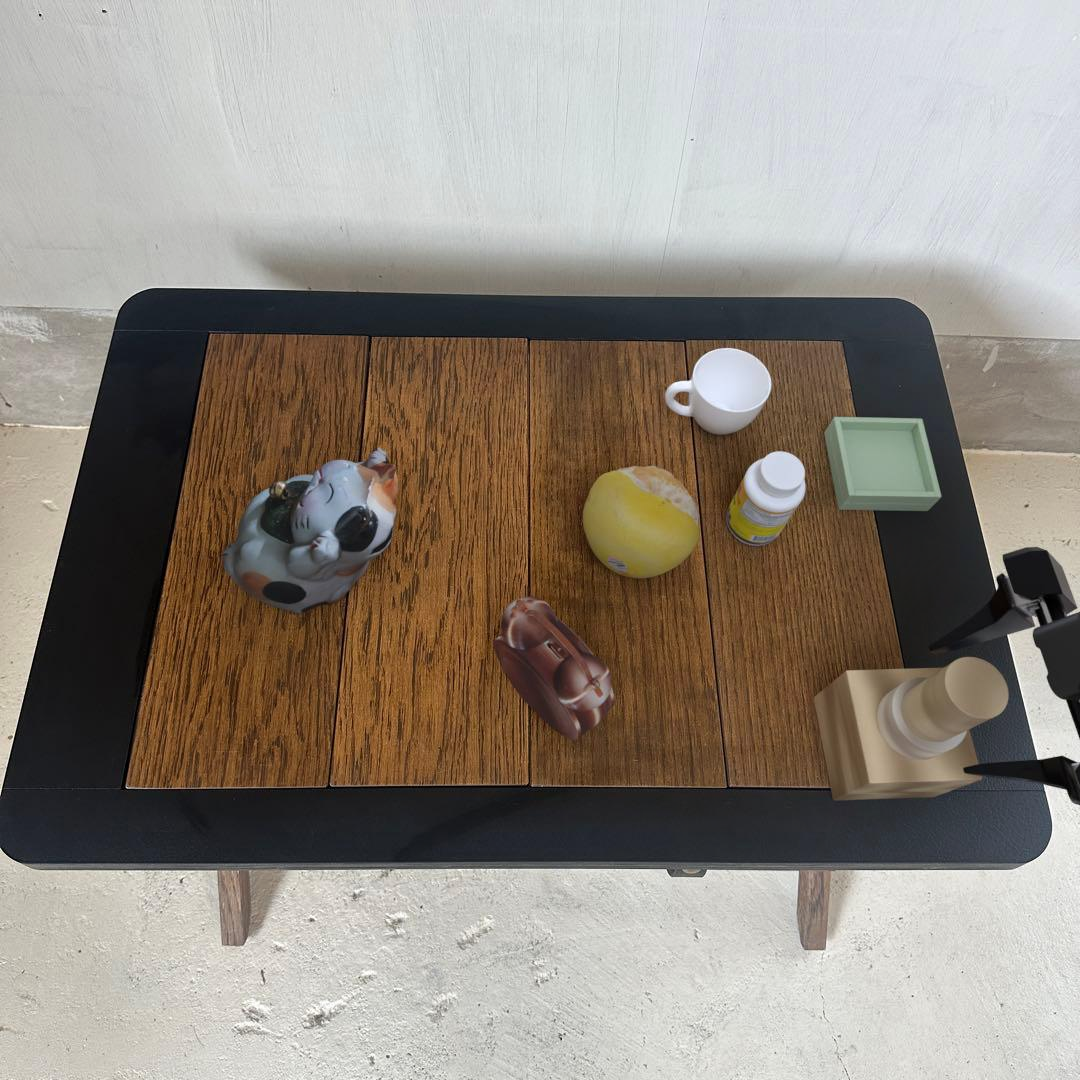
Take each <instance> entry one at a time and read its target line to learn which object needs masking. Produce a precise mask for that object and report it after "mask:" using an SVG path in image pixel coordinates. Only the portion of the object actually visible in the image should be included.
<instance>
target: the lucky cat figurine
mask: <svg viewBox="0 0 1080 1080" xmlns="http://www.w3.org/2000/svg"><path fill="white" fill-rule="evenodd" d="M398 478H399V477H398V474H397V465H396V464H394V463H393V464H392V463H391V462H390V459H388V455H387V451H386V450H383V448H381V447H378V448H377V450H374V451H372V452H371V453H369V456H368V458H367V459H366V460H365V461H359V462H353V461H350V460H346V459H333V460H331V461H328V462H325V463H324V464H323V465H321V467H320V468H319V469H317V470H316V471H314V472H313V473H312V474H298V475H295V476H292V477H290V478H289V479H287V480H285V481H284V480H280V479H279V480H277V481H275V482H272V484H270V486H269V487H268V488H266V489H264V490H262V491H261V492H259V493H258V494H257V495H255V496H254V497H253V498H252V499H251V500H250V502H249V503H248V505H247V506H246V508H245V511H243V514H242V516H241V518H240V520H239V522H238V526H237V535H236V537H235V539H234V541H232V542H231V543H230V544H228V545H227V546H226V547H225V548H224V550H223V551H222V553H221V560H222V565H223V568H224V570H225V573H226V574H227V575H228V577H230V579H231V580H232V581H233V583H235V584H236V585H237V586H238V588H240V589H241V590H242V591H244V592H245V593H246V594H248V595H249V596H250V597H252V598H254V599H255V600H257V601H259V602H261V603H262V604H265V605H266V606H267V605H268V606H270V607H273V608H276V609H281V610H284V611H288V612H291V613H294V614H299V615H303V614H304V613H306V612H308V611H310V610H312V609H314V608H315V607H320V606H325V605H333V604H335V603H336V602H340V601H341V600H342V599H344V597H345V596H346V595H347V594H348V592H349V591H350V590H351V589H352V587H353V586H354V585H355V584H356V583H357V582H358V581H359V580H360V579H361V578H362V577H363V576H364V574H365V572H366V571H367V569H368V567H369V565H370V562H371V561H373V560H374V559H376V558H377V557H378V556H380V555H381V554H382V552H384V551H385V550H386V549H388V547H389V546H390V544H391V541H392V539H393V537H394V524H395V523H394V521H395V519H396V516H397V515H396V514H397V507H396V500H397V498H398V494H399V479H398Z"/></svg>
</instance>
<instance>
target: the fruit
mask: <svg viewBox="0 0 1080 1080" xmlns="http://www.w3.org/2000/svg"><path fill="white" fill-rule="evenodd" d="M699 520H700V512H699V509H698V505H697V504H696V501H695V499H694V498H693V497H692V496H691V494H689V492H688V489H687V488H686V487H685V485H684V484H683V483H682V482H680V481H679V479H677V478H675V476H674V475H673V474H672V472H670V471H668V470H666V469H664V468H660V467H658V466H657V465H647V466H638V465H632V466H628V467H619V468H618V469H616V470H611V471H609V472H605V473H603V474H601V475H599V477H598V478H597V479H596V480H595V481H594V483H593V484H592V487H591V488H590V490H589V492H588V494H587V497H586V500H585V502H584V507H583V510H582V525H583V530H584V534H585V537H586V539H587V543H588V545H589V547H590V549H591V550H592V552H593V554H594V556H595V557H596V558H597V559H598V560H599V562H601V564H603V565H604V566H605V567H606V568H608V570H610V571H611V572H613V573H615V574H618V575H621V576H623V577H627V578H631V579H650V578H655V577H658V576H661V575H664V574H665V573H667V572H670V571H671V570H673V569H674V568H676V567H678V566H679V565H680V564H682V563H683V562H684V561H686V559H687V558H688V557H689V556H690V555H691V553H692V552H693V551H694V550H695V548H696V546H697V544H698V542H699V539H700V533H701V531H700V526H699V522H700V521H699Z"/></svg>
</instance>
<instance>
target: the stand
mask: <svg viewBox="0 0 1080 1080" xmlns="http://www.w3.org/2000/svg"><path fill="white" fill-rule="evenodd" d="M943 668H944V667H922V668H921V667H918V668H887V669H885V668H883V669H881V668H880V669H852V670H851V669H849V670H845V671H844V672H842V674H840V675H839V676H837V678H835V679H834V680H833V681H832V682H830V683H829V684H828V685H827V686H826V687H825V688H823V689H821V690H820V691H819V692H818V693H817V694H816V695H815V696H814V697H813V701H814V707H815V712H816V713H815V714H816V719H817V723H818V729H819V733H820V740H821V744H822V745H821V746H822V749H823V755H824V761H825V765H826V771H827V775H828V776H827V777H828V782H829V786H830V791H831V797H832V801H834V802H835V801H836V802H837V801H857V800H858V801H859V800H860V801H861V800H863V801H864V800H886V799H887V800H889V799H915V798H936V797H938V796H941V795H943V794H946V793H949V792H952V791H955V790H957V789H960V788H962V787H965V786H968V785H971V784H973V783H976V782H978V781H982V780H983V776H978V775H970V774H966V773H964V771H963V768H964V767H968V766H973V765H977V764H980V763H979V760H978V757H977V752H976V749H975V745H974V741H973V738H972V734H971V729H969V730H967V732H966V735H965V737H964V739H963V740H962V742H961V743H960V744H959V745H957V746H956V747H955V748H953V749H951V750H949V751H947V752H945V753H942V754H940V755H938V756H936V757H934V758H931V759H927V760H915V759H911V758H908V757H905V756H903V755H901V754H899V753H898V752H896V751H895V750H894V749H892V748H891V747H890V746H889V745H888V743H887V742H886V741H885V739H884V738H883V736H882V734H881V732H880V730H879V727H878V723H877V710H878V706H879V704H880V702H881V700H882V699H883V697H884V696H885V695H886V694H887V693H889V692H890V691H892V690H893V689H895V688H896V687H898V686H899V685H900V684H902V683H903V682H905V681H907V680H909V679H912V678H916V677H928V678H929V677H930V676H932V675H933V674H935V673H936V672H938V671H940V670H941V669H943Z"/></svg>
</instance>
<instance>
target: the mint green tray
mask: <svg viewBox="0 0 1080 1080" xmlns="http://www.w3.org/2000/svg"><path fill="white" fill-rule="evenodd" d="M823 434H824V440H825V445H826V451H827V456H828V461H829V466H830V472H831V478H832V484H833V488H834V493H835V498H836V505H837V510H839V511H891V512H892V511H893V512H895V511H896V512H897V511H899V512H929V510H931V508H932V507H933V506H935V504H936V503H938V502H939V500H940V499H941V498H942V493H941V489H940V485H939V481H938V477H937V471H936V468H935V464H934V461H933V456H932V453H931V448H930V444H929V440H928V436H927V431H926V429H925V424H924V420H923V418H916V417H915V418H914V417H913V418H911V417H910V418H909V417H865V416H864V417H863V416H861V417H860V416H855V417H854V416H833V418H832V419H831V420H830V423H829V424H828V426H827V428H826V429H825V431H824V433H823Z"/></svg>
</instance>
